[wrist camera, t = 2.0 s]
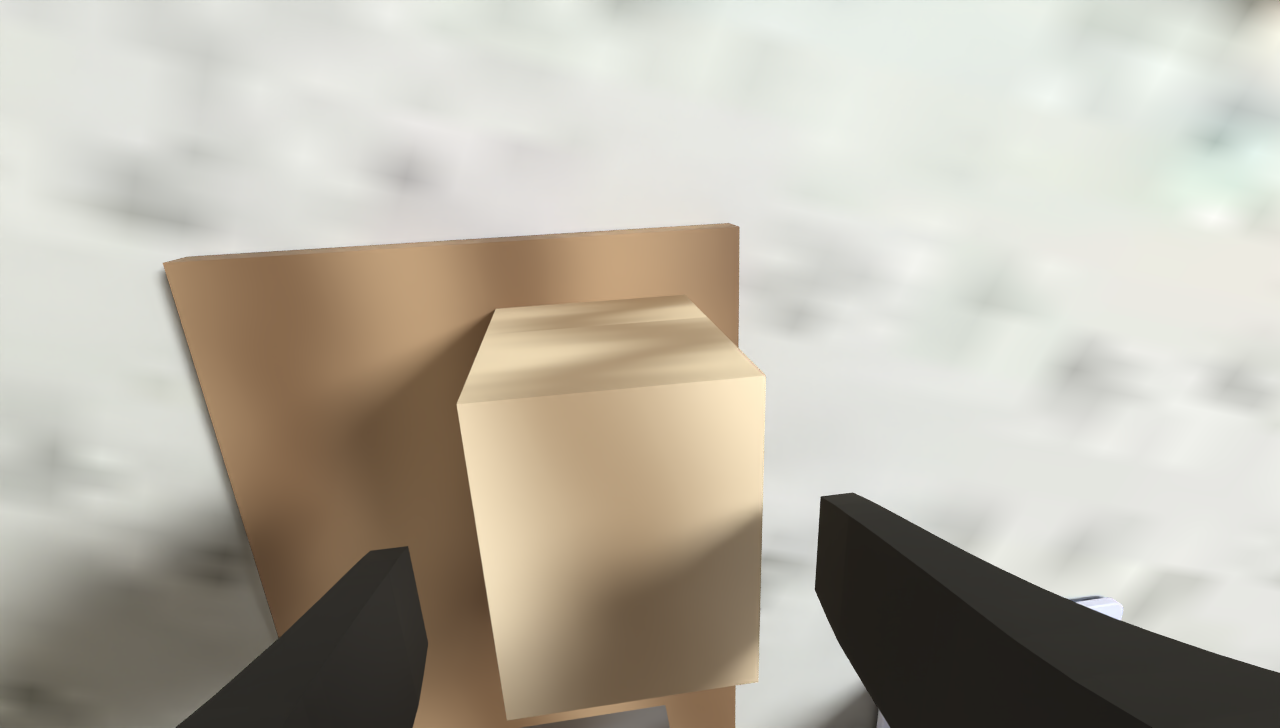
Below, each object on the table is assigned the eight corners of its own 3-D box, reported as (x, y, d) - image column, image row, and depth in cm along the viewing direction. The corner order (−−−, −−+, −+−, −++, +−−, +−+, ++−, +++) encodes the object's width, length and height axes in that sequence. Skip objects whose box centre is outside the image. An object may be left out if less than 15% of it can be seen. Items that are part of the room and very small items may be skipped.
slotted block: (684, 294, 16) (765, 375, 10) (689, 506, 18) (758, 681, 12) (495, 308, 15) (456, 404, 9) (523, 526, 17) (507, 720, 11)
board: (728, 222, 16) (761, 234, 14) (727, 820, 24) (748, 900, 22) (187, 256, 15) (108, 276, 12) (372, 884, 23) (348, 978, 20)
